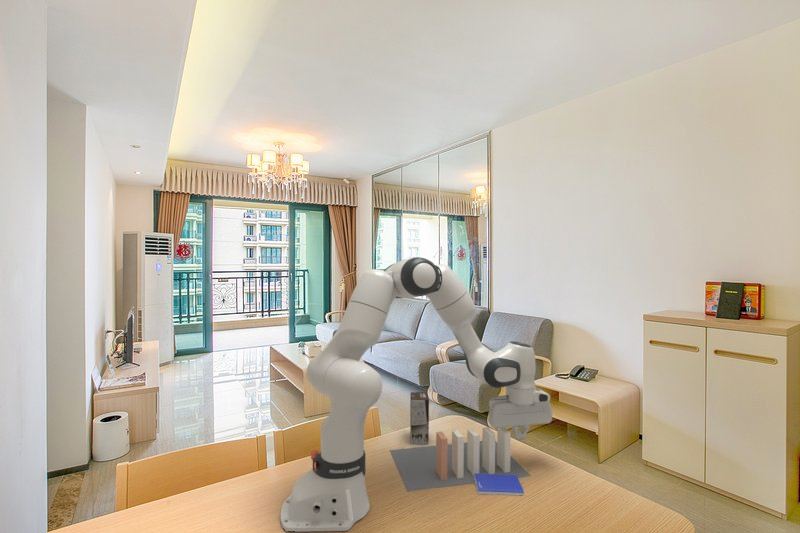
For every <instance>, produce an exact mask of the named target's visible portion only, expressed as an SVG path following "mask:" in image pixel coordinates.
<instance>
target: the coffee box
mask: <svg viewBox="0 0 800 533" xmlns="http://www.w3.org/2000/svg"><path fill="white" fill-rule="evenodd" d="M429 398H430V397H429V394H428V391H417V392H414V391H413V392H412V391H410V405H409V406H410V411H409V412H410V414H409V416H410V418H409V419H410V424H409V425H410V427H409V428H410V445H411V446H429V440H430V438H429V437H430V436H429V429H430V427H429V425H430V423H429V422H430V421H429V420H430V419H429V418H430V399H429Z"/></svg>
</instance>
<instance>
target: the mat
mask: <svg viewBox="0 0 800 533" xmlns="http://www.w3.org/2000/svg"><path fill="white" fill-rule="evenodd" d="M389 452H390V454H391V457H392V460H393V461H394V465H395V467H396V468H397V471H398V474H399V476H400V478H401V480H402V482H403V485H404V487H405V490H406V492H416V491H417V492H418V491H424V490H425V491H426V490H431V489H440V488H447V487H448V488H449V487H456V486H462V485H463V486H464V485H471V484H472V485H473V484H475V481H474V476H473V475H472V473H471V472H470V471H469V470H468V468H467V442H464V475H463V478H457V476H456V475H455V474H454V472H453V471H452V443H449V444H448V443H447V480H441V479H440V477H439V475H438V474H437V472H436V445H426V446H419V447H408V448H400V449H399V448H397V449H389ZM479 474H489V473H488V472H487V471H486V470H485V469H484V468H483V466H482V440H480V445H479ZM495 474H502V475H517V477H518V479H519V478H527V477H532V475H531V474H530V473H529V472H528V470H526V468H525V467H523V466H522V465H521V464H520V463H519V462H518V461H517V460H515V458H514V457H513V456H511V455H510V472H504V471H503V470H502V469H501V468H500V467H499V466H498V465H497V440H495Z"/></svg>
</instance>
